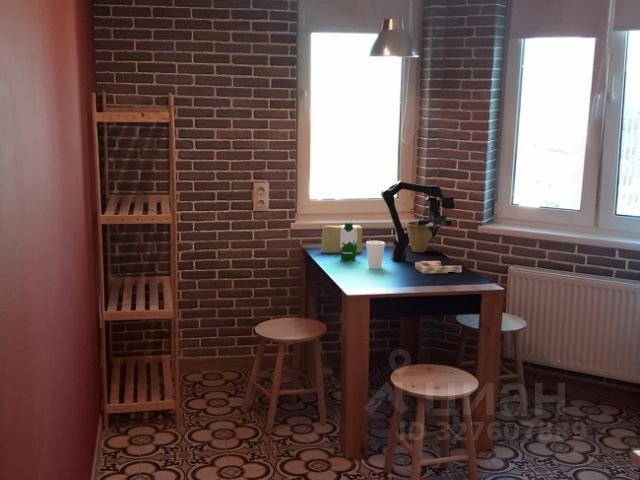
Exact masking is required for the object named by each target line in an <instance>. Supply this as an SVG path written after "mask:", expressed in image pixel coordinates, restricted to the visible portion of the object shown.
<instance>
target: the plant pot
mask: <svg viewBox="0 0 640 480" xmlns="http://www.w3.org/2000/svg"><path fill="white" fill-rule="evenodd" d="M415 221H416V220H414V221H408V222H406V231H407V232H408V237H409V239H410V240H409V244H410V247H411V251H412V252H413V253H414V252H415V253H425V252H426V251H427V249H428V246H429V243H430V240H431V238H432V236H431V233H430V231H429V229H428V227H427V226H426V225H427V224H425V225H424V226H418V225H416V224H415Z"/></svg>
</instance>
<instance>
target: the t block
mask: <svg viewBox="0 0 640 480" xmlns="http://www.w3.org/2000/svg"><path fill="white" fill-rule="evenodd" d="M419 262H420V263H421V264H423V265H424V266H426V267H430V266H442V262H441V261H440V260H421V261H419Z"/></svg>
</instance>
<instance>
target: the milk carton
mask: <svg viewBox="0 0 640 480" xmlns="http://www.w3.org/2000/svg"><path fill="white" fill-rule="evenodd" d="M353 225H354V224H353V222H345V223H344V224H342V225H341V226H342V227H341V235H340V259H341V260H340V261H343V262H345V261H346V262H355V261H356V257H357V253H356V251H357V227H356V226H353Z"/></svg>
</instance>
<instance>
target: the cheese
mask: <svg viewBox="0 0 640 480" xmlns="http://www.w3.org/2000/svg"><path fill="white" fill-rule="evenodd" d="M353 226H356V227H357V251H356V254H361V253H362V252H363V247H362V246H363V227H362V226H361V225H360V224H353ZM341 227H342V225H324V226H323V227H322V234H321V253H325V254H326V253H330V254H331V253H333V254H336V253H340V235H341ZM340 254H341V253H340Z"/></svg>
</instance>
